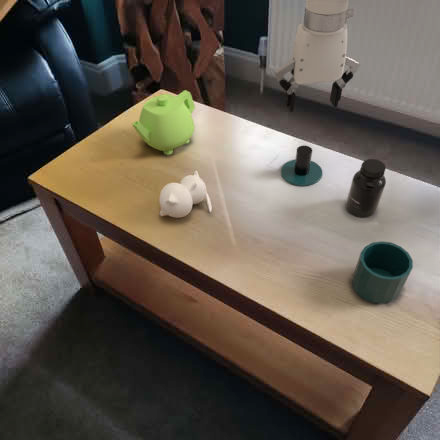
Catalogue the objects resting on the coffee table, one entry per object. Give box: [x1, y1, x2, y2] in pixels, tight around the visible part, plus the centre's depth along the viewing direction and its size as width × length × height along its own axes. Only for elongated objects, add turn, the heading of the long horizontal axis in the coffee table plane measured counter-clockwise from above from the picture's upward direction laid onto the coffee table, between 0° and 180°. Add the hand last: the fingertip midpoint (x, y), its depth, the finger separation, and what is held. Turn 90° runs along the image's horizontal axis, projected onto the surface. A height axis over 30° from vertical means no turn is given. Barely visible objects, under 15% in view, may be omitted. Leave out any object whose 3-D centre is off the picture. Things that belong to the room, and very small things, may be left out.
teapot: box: [131, 89, 196, 155], centre depth 111 cm, size 20×13×13 cm
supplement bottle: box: [345, 158, 387, 219], centre depth 93 cm, size 7×7×12 cm
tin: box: [351, 240, 414, 305], centre depth 82 cm, size 9×9×7 cm
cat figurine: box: [158, 170, 213, 219], centre depth 97 cm, size 9×11×12 cm
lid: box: [280, 145, 323, 187], centre depth 103 cm, size 10×10×7 cm
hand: (311, 106), depth 93 cm, fingers open, 9 cm apart
